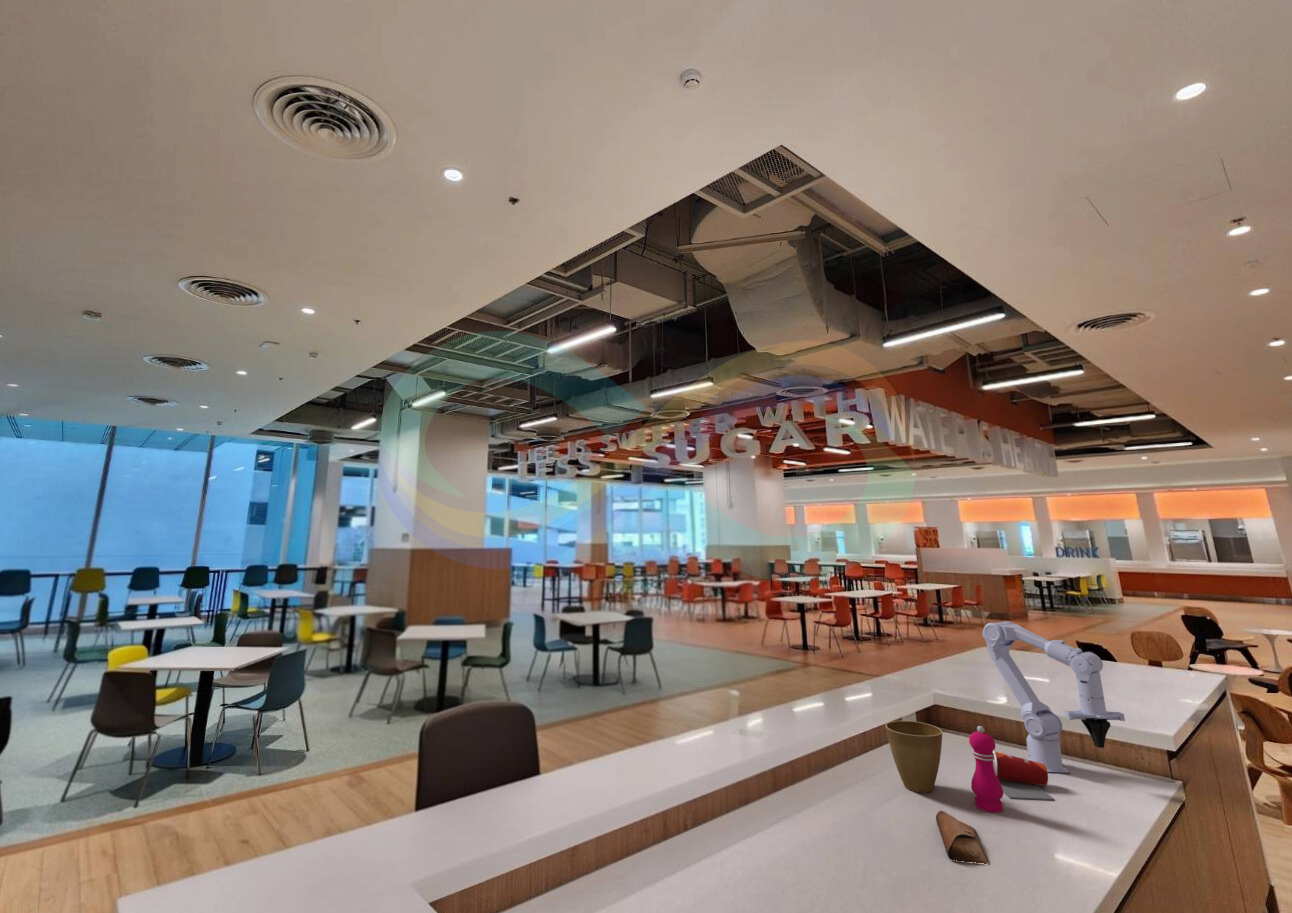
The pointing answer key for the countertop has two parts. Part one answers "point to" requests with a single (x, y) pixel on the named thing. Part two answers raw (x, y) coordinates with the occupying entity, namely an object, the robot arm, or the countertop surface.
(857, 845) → the countertop surface
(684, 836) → the countertop surface
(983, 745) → the pepper mill
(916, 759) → the plant pot
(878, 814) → the countertop surface
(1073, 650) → the robot arm
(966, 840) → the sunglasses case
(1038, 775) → the paper cup
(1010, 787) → the mat
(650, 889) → the countertop surface
